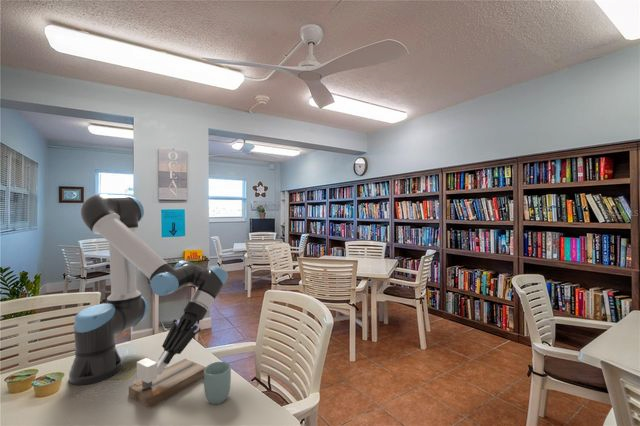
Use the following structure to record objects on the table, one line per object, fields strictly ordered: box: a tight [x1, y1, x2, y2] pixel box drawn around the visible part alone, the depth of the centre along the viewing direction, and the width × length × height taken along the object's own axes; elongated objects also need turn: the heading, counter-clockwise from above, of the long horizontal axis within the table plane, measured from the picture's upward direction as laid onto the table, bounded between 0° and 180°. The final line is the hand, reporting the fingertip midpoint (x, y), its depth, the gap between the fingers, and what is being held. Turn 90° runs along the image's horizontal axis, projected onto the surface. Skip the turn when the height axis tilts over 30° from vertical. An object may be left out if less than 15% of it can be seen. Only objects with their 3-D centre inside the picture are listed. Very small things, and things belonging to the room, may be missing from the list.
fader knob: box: [136, 357, 158, 389], centre depth 93 cm, size 6×3×8 cm, turn 59°
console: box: [128, 358, 207, 409], centre depth 100 cm, size 12×20×3 cm, turn 149°
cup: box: [203, 361, 232, 405], centre depth 92 cm, size 8×8×10 cm
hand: (156, 373), depth 96 cm, fingers closed
